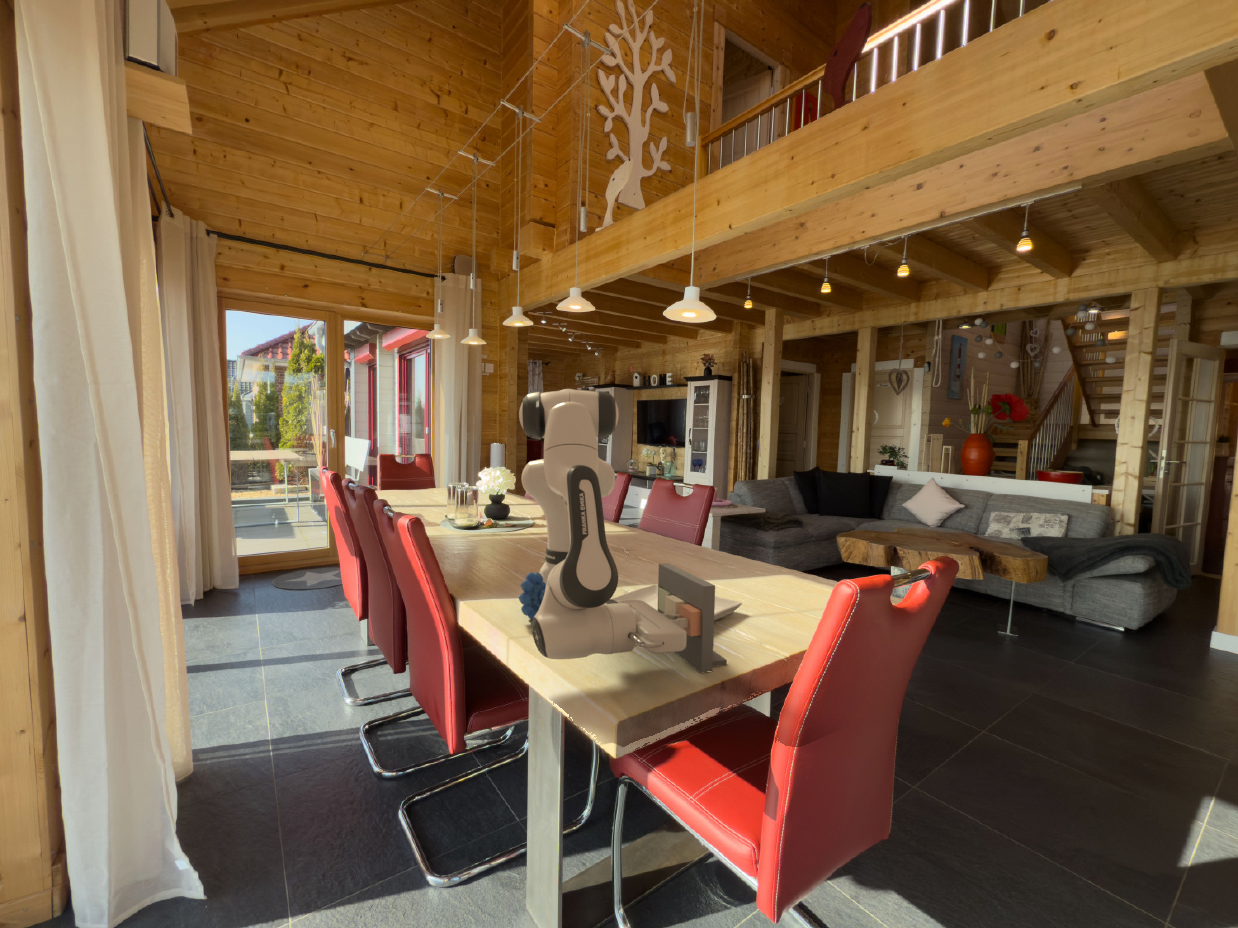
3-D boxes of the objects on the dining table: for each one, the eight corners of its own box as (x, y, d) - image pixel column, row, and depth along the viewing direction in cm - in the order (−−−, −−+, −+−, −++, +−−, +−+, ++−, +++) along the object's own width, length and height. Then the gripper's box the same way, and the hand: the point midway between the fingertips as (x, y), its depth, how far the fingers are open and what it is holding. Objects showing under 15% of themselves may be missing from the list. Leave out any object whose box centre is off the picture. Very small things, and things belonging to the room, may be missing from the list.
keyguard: (656, 637, 126) (658, 563, 125) (684, 634, 129) (686, 561, 128) (701, 673, 107) (703, 586, 107) (732, 668, 110) (735, 583, 109)
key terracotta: (679, 628, 112) (679, 604, 112) (696, 626, 113) (697, 603, 113) (690, 636, 107) (691, 612, 107) (708, 634, 109) (709, 610, 109)
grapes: (537, 629, 130) (538, 578, 129) (512, 625, 132) (512, 575, 132) (559, 614, 141) (560, 567, 140) (535, 611, 143) (536, 565, 143)
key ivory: (664, 618, 118) (665, 595, 118) (681, 616, 119) (681, 594, 119) (674, 625, 113) (675, 602, 113) (692, 623, 115) (692, 600, 115)
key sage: (658, 608, 125) (658, 587, 124) (674, 606, 126) (674, 585, 126) (667, 614, 120) (668, 593, 120) (684, 613, 122) (684, 591, 121)
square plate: (691, 643, 124) (692, 626, 124) (597, 617, 141) (597, 602, 140) (743, 614, 146) (743, 599, 146) (655, 594, 162) (656, 581, 162)
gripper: (642, 629, 95) (712, 621, 100) (601, 596, 114) (662, 591, 119) (641, 665, 95) (711, 656, 100) (601, 626, 114) (661, 620, 119)
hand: (684, 620), depth 109 cm, fingers closed
